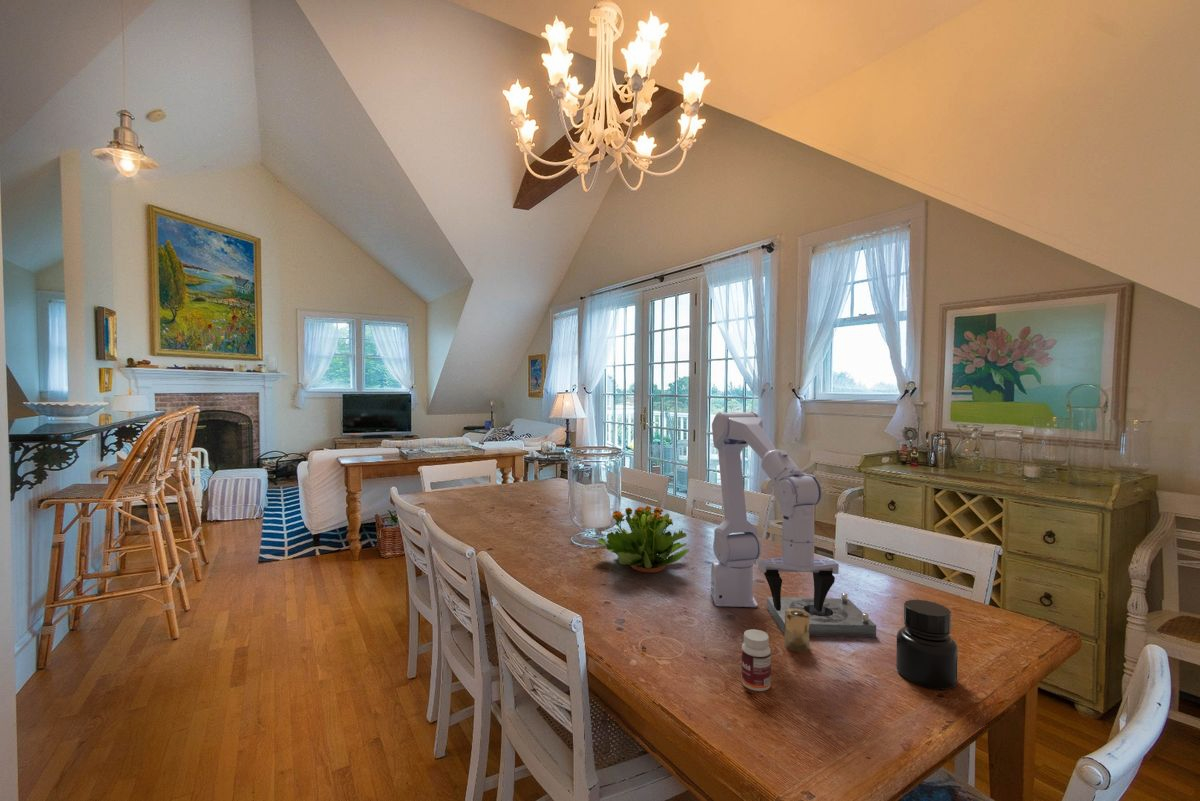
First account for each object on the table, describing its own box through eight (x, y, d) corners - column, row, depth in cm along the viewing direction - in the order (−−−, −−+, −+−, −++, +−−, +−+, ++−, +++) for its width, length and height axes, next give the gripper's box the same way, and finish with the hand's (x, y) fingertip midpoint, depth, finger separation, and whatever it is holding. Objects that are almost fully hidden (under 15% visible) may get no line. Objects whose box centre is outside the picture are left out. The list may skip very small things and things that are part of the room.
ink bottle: (972, 686, 86) (973, 615, 85) (934, 697, 83) (936, 623, 82) (918, 657, 95) (919, 593, 94) (882, 666, 92) (883, 600, 91)
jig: (784, 635, 103) (784, 615, 103) (766, 607, 116) (767, 589, 116) (876, 637, 102) (876, 617, 102) (848, 609, 115) (848, 591, 115)
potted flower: (670, 549, 157) (670, 493, 157) (713, 576, 135) (714, 510, 135) (594, 559, 149) (594, 499, 148) (626, 589, 126) (627, 519, 126)
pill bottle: (736, 676, 88) (737, 628, 88) (763, 675, 89) (764, 627, 89) (747, 692, 84) (747, 642, 83) (775, 691, 84) (776, 641, 84)
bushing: (788, 652, 97) (789, 617, 96) (781, 640, 101) (782, 607, 101) (812, 653, 96) (813, 618, 96) (804, 641, 101) (804, 608, 101)
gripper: (765, 544, 94) (764, 617, 95) (845, 545, 94) (845, 619, 94) (755, 533, 102) (755, 601, 102) (830, 534, 101) (829, 603, 101)
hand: (797, 609), depth 98 cm, fingers open, 7 cm apart
